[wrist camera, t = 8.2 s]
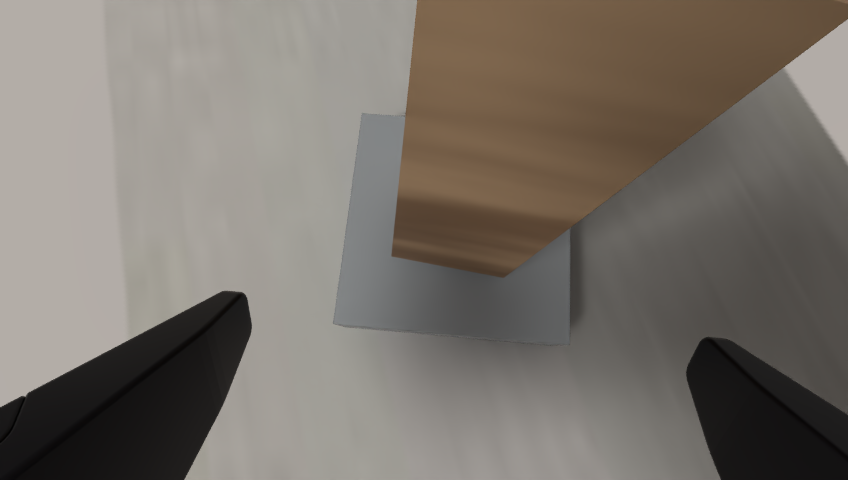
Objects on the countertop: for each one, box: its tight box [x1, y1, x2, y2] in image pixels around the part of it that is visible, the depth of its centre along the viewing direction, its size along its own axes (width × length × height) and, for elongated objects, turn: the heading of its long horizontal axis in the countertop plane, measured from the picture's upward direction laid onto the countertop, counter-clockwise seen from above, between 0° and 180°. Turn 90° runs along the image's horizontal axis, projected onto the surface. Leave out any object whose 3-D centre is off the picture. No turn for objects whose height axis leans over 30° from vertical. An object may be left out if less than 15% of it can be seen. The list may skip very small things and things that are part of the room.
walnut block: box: [391, 0, 848, 278], centre depth 11 cm, size 4×4×13 cm
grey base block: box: [333, 113, 570, 345], centre depth 19 cm, size 9×9×3 cm
